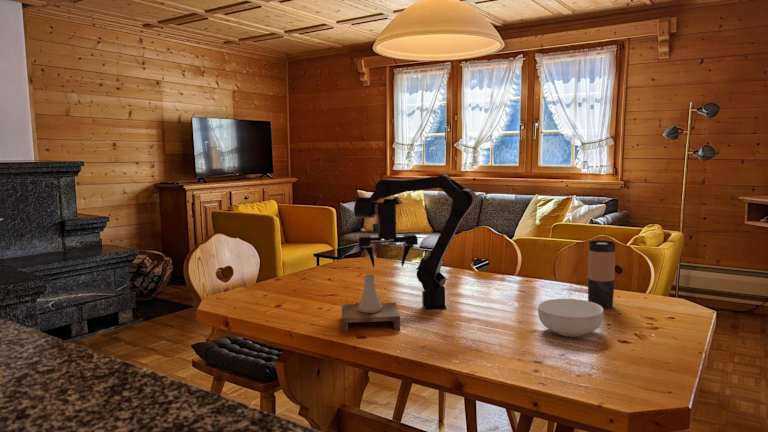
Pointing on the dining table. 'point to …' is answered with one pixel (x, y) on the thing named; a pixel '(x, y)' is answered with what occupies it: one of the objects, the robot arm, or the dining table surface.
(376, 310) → the flask
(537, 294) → the dining table surface
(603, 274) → the travel mug
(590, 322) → the cereal bowl
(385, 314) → the walnut shelf
